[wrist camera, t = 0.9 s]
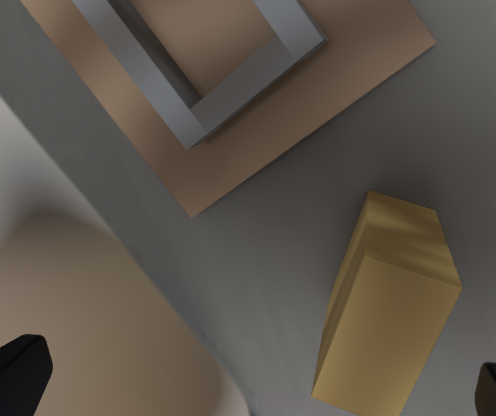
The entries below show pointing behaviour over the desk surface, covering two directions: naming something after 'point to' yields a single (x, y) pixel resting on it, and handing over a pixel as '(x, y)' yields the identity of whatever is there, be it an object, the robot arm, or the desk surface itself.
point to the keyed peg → (385, 308)
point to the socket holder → (227, 75)
